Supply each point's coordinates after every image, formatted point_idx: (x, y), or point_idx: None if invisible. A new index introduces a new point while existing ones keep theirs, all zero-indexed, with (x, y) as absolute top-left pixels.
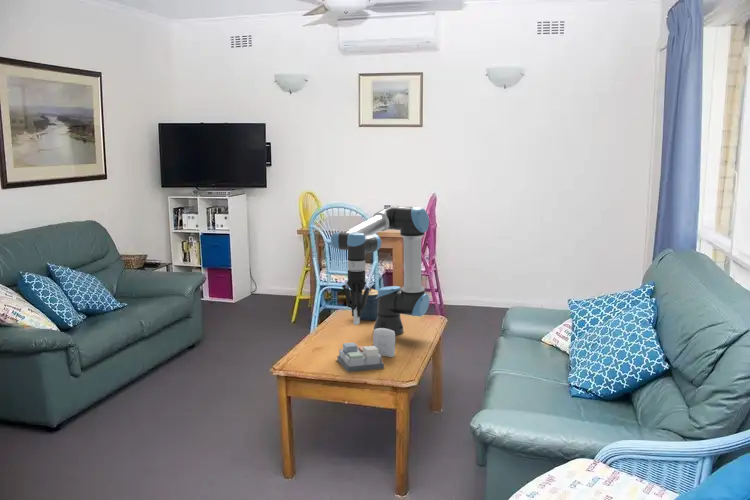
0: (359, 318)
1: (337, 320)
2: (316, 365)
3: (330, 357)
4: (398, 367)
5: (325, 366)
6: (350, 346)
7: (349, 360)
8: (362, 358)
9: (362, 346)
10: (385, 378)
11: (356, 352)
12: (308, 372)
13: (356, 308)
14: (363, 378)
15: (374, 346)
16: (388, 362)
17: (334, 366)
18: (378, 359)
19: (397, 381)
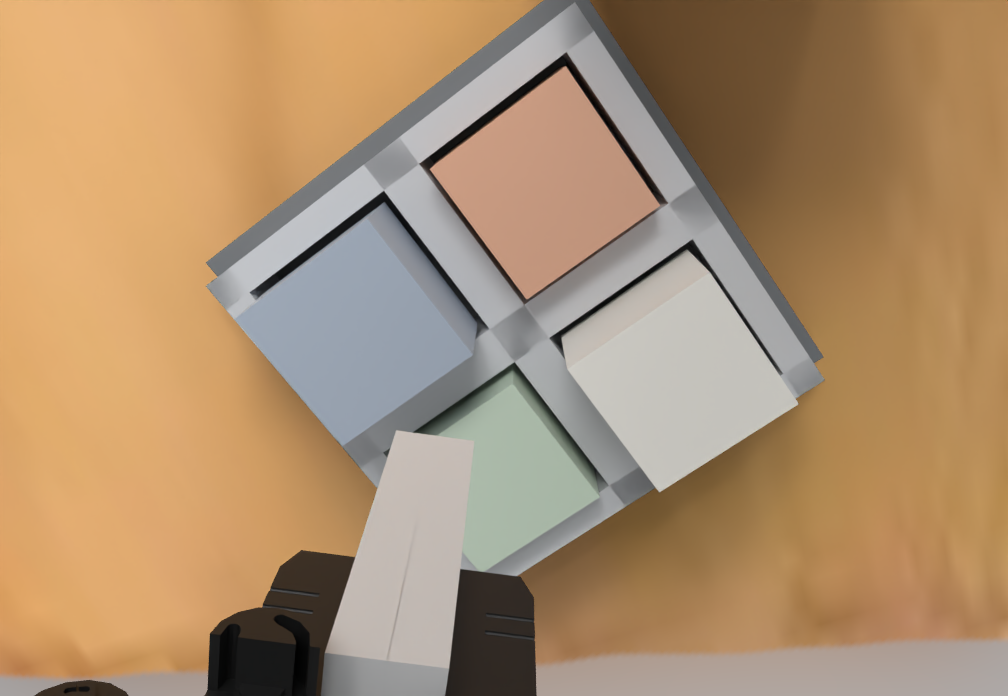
0: (466, 503)
1: None
2: (102, 476)
3: (105, 184)
4: (959, 255)
5: (200, 475)
6: (390, 411)
7: None
8: (609, 515)
9: (485, 147)
10: (872, 591)
11: (495, 422)
12: (135, 665)
13: (333, 674)
14: (671, 650)
15: (719, 305)
16: (818, 124)
17: (286, 446)
18: None
19: (995, 625)
